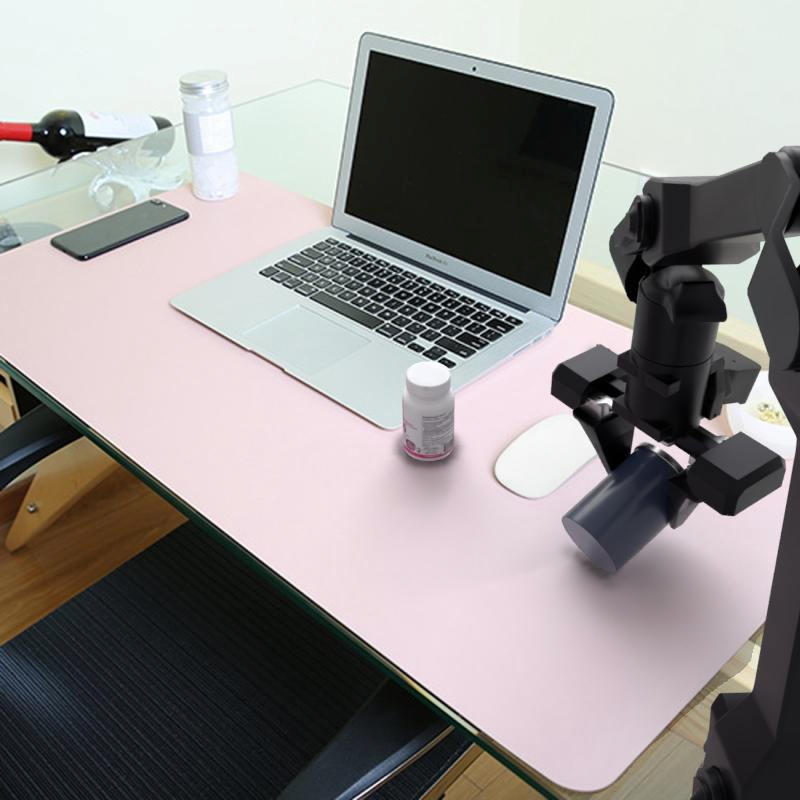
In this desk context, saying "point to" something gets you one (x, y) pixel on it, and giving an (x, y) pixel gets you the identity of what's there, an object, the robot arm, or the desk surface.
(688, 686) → the desk surface
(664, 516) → the navy blue tumbler
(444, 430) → the pill bottle
